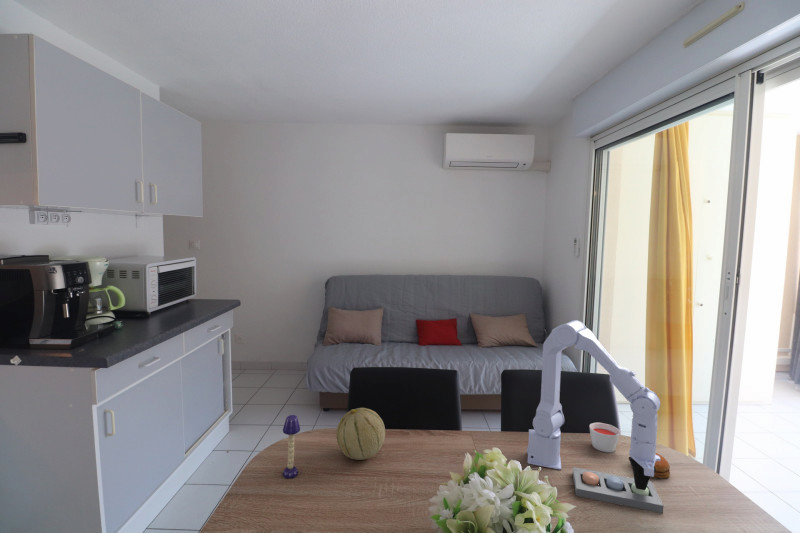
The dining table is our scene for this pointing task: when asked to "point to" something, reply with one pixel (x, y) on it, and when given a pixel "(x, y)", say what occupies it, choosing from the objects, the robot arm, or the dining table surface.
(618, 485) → the blue button
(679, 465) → the dining table surface
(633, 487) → the green button
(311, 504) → the dining table surface
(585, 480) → the terracotta button
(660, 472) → the burger
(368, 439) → the cantaloupe
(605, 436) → the candle
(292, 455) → the toy lamp
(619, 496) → the button panel
